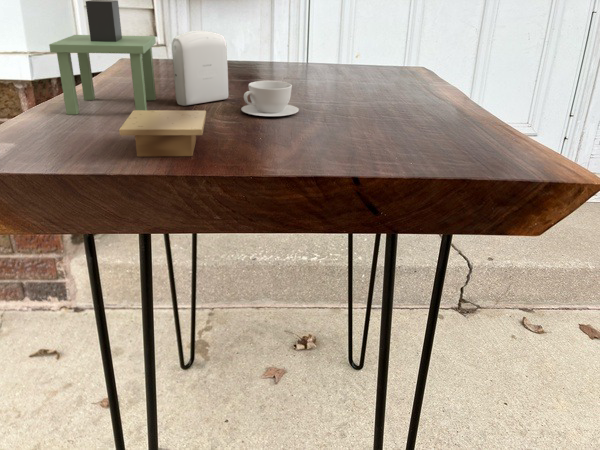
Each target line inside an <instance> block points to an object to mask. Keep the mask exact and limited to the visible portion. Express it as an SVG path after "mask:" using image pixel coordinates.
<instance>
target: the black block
mask: <svg viewBox="0 0 600 450" xmlns="http://www.w3.org/2000/svg"><path fill="white" fill-rule="evenodd" d="M119 6H120V5H119V0H85V8H86V16H87V24H88V30H89V35H90V39H91V41H96V42H117V41H118V40H120V39H122V36H123V33H122V25H121V17H120V16H121V15H120V7H119Z"/></svg>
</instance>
